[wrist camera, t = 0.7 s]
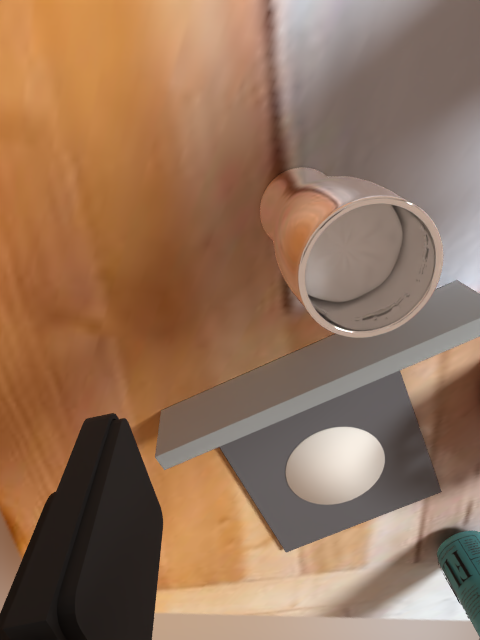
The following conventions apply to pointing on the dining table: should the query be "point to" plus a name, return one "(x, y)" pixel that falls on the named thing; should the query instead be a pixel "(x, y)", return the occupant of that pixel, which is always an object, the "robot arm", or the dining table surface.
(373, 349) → the low wall
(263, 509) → the dark gray mat
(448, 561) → the beverage bottle
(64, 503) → the robot arm
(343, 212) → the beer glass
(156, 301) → the dining table surface
